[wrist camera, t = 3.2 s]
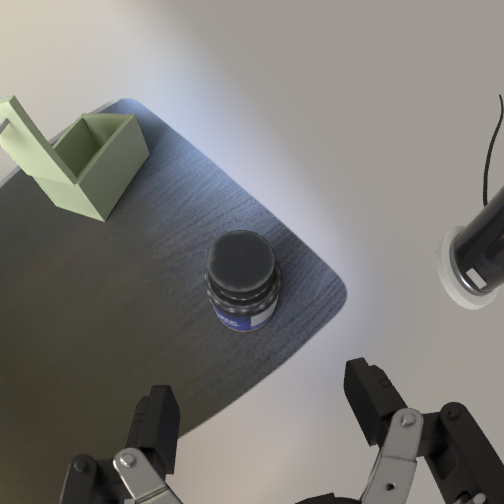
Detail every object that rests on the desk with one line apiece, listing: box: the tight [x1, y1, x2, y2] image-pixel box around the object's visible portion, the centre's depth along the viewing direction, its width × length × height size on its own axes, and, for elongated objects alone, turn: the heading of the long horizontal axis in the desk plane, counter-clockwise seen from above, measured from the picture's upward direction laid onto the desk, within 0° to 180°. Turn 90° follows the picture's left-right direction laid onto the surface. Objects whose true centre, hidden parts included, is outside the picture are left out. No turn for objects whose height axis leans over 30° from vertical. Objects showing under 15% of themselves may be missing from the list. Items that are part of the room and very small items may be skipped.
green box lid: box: [0, 95, 78, 185], centre depth 21 cm, size 14×11×5 cm
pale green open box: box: [33, 114, 150, 222], centre depth 34 cm, size 13×11×8 cm
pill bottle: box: [204, 230, 282, 333], centre depth 24 cm, size 6×6×11 cm
